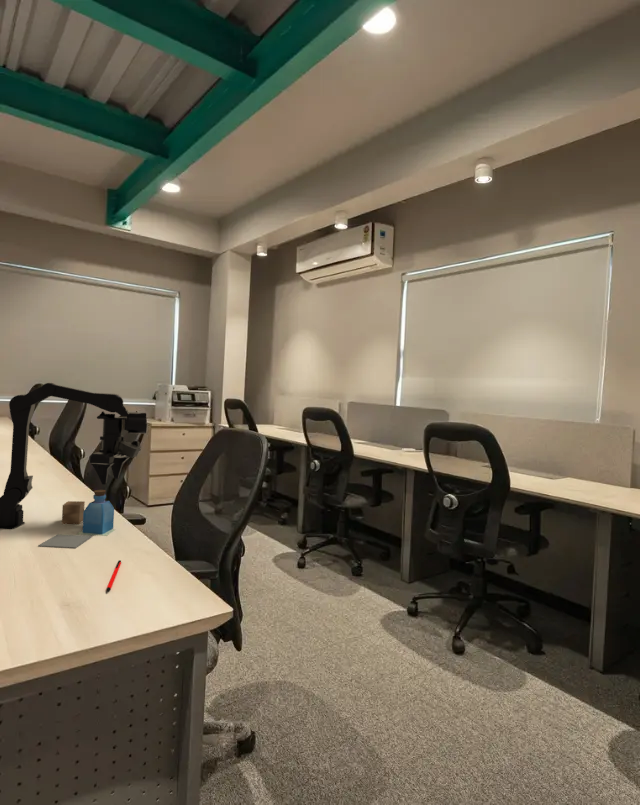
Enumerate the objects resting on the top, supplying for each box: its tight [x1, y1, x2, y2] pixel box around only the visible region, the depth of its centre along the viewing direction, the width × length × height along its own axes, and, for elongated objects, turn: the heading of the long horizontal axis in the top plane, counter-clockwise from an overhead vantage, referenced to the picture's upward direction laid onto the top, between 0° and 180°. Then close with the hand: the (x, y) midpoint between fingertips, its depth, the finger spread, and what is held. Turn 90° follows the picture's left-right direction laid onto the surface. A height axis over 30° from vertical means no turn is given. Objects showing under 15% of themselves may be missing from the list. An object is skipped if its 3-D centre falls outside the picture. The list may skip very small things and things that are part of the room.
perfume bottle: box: [82, 489, 115, 534], centre depth 147 cm, size 6×6×12 cm
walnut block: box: [61, 500, 86, 525], centre depth 154 cm, size 5×5×6 cm
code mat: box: [76, 528, 115, 537], centre depth 147 cm, size 9×9×1 cm
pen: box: [105, 560, 122, 594], centre depth 115 cm, size 1×19×1 cm, turn 15°
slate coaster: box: [37, 533, 93, 549], centre depth 136 cm, size 10×10×1 cm
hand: (110, 481), depth 157 cm, fingers open, 9 cm apart
